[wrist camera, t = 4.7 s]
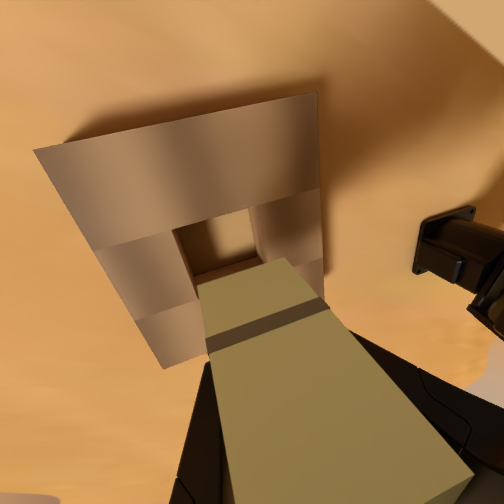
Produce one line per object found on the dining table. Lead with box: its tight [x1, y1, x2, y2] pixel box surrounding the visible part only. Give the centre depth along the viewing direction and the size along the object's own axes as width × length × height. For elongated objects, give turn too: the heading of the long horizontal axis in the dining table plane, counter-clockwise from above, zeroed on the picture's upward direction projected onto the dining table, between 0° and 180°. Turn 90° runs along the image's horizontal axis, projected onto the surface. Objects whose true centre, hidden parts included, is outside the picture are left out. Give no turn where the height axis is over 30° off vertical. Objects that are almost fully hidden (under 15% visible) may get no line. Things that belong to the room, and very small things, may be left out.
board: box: [33, 91, 325, 369], centre depth 17 cm, size 14×16×3 cm
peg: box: [197, 257, 474, 504], centre depth 8 cm, size 4×4×8 cm
